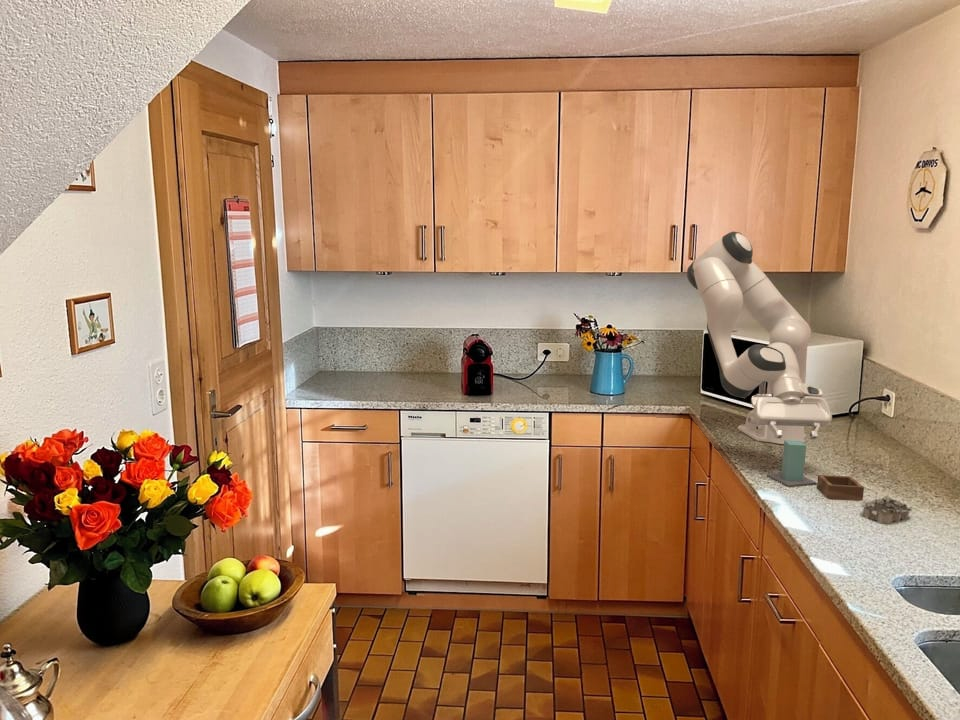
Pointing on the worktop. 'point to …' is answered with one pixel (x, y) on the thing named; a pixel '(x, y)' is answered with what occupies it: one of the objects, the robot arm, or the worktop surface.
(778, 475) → the rubber mat
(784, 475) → the teal block
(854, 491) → the pocket holder
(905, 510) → the egg carton
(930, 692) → the worktop surface
